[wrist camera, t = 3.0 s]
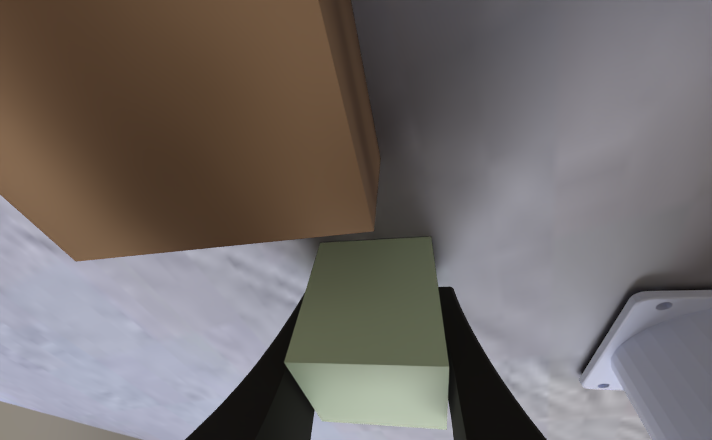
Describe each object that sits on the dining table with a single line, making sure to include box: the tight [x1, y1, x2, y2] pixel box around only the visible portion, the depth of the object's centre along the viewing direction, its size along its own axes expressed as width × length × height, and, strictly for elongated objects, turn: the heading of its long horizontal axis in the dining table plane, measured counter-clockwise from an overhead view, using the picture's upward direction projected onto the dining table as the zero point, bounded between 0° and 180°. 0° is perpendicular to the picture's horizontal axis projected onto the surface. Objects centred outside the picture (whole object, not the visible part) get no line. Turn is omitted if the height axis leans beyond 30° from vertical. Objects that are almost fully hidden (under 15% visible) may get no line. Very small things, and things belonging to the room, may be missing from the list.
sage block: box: [284, 237, 449, 430], centre depth 11 cm, size 4×4×5 cm
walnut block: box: [0, 0, 381, 261], centre depth 7 cm, size 9×9×4 cm
